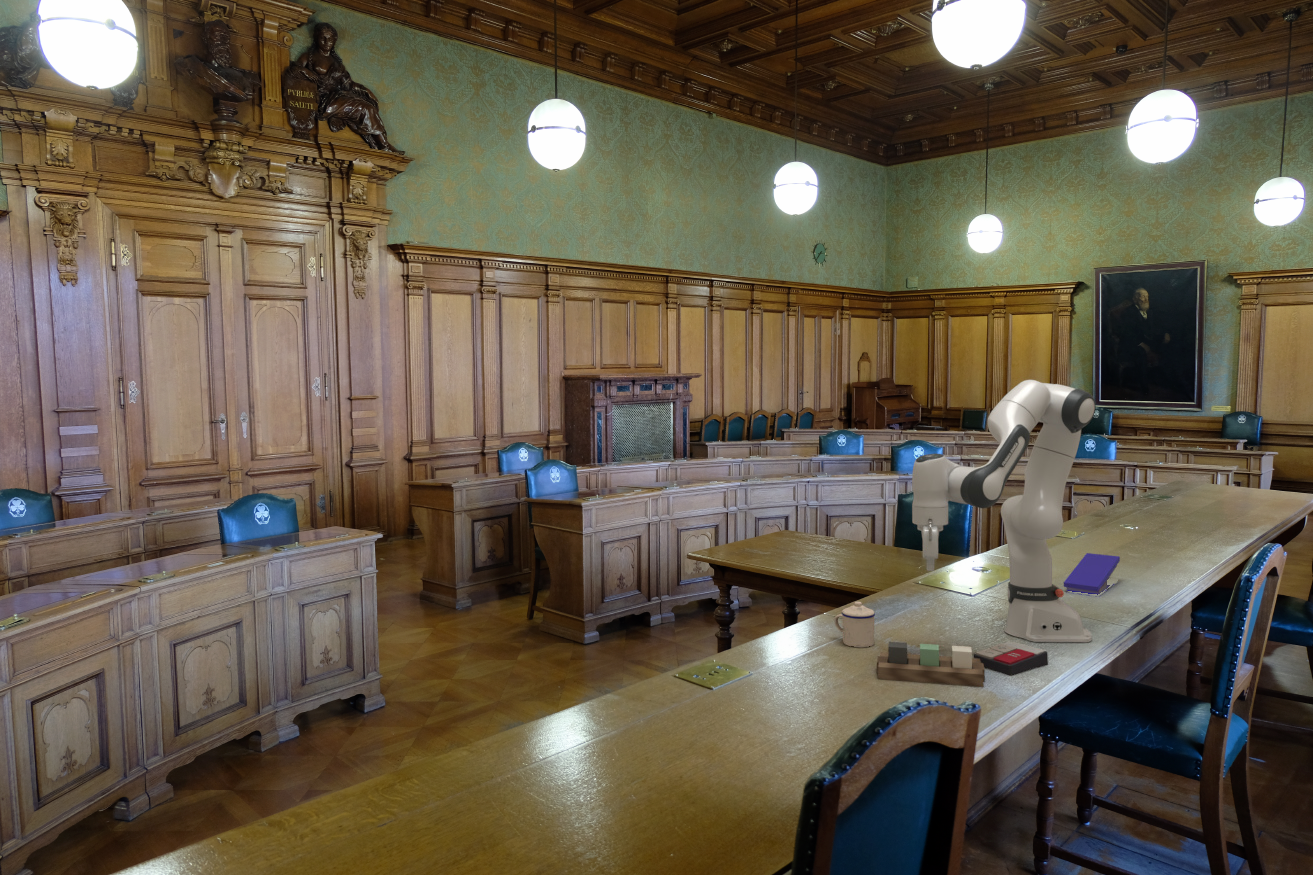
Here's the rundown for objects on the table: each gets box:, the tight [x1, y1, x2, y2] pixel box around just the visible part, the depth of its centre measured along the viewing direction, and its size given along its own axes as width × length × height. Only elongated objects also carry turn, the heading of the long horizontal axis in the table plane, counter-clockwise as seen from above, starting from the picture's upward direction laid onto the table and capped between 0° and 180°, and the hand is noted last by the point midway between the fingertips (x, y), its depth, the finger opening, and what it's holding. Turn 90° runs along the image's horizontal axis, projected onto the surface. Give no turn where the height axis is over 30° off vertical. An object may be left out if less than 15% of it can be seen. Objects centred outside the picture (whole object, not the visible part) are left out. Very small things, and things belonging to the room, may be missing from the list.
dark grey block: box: [887, 641, 908, 664], centre depth 205 cm, size 4×4×5 cm
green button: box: [919, 643, 940, 667], centre depth 203 cm, size 4×4×5 cm
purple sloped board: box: [1063, 552, 1121, 595], centre depth 287 cm, size 12×28×10 cm, turn 138°
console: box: [876, 651, 986, 688], centre depth 203 cm, size 25×12×3 cm, turn 72°
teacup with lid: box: [834, 601, 876, 648], centre depth 231 cm, size 12×9×12 cm
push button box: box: [973, 640, 1049, 677], centre depth 209 cm, size 11×4×15 cm
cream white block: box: [951, 645, 973, 669], centre depth 200 cm, size 4×4×5 cm
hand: (930, 569), depth 213 cm, fingers closed
